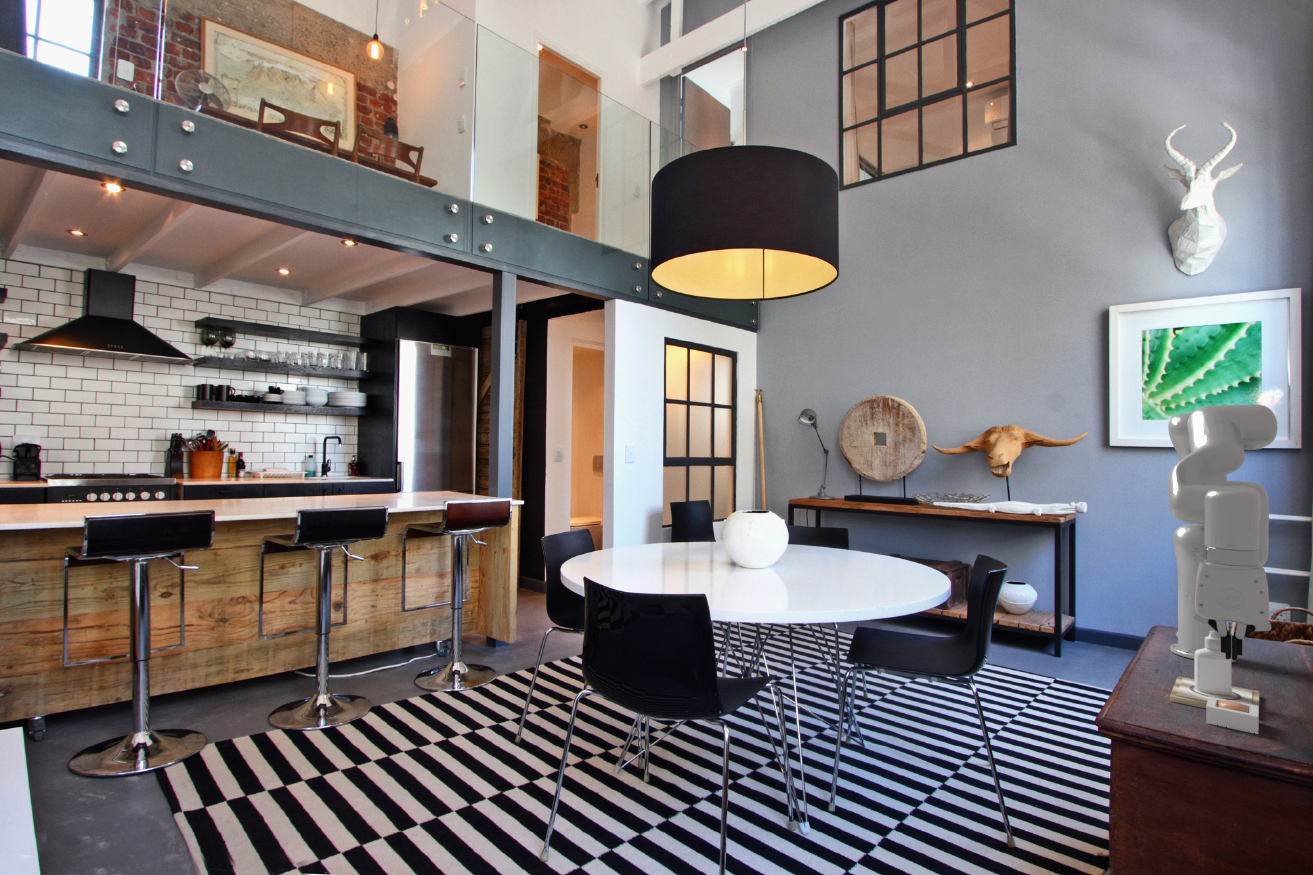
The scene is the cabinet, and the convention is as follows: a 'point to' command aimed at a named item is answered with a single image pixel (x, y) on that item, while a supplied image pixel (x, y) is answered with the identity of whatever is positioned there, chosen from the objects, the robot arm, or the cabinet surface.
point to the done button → (1232, 705)
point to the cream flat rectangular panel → (1208, 694)
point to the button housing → (1232, 716)
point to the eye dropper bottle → (1212, 668)
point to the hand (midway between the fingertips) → (1231, 657)
